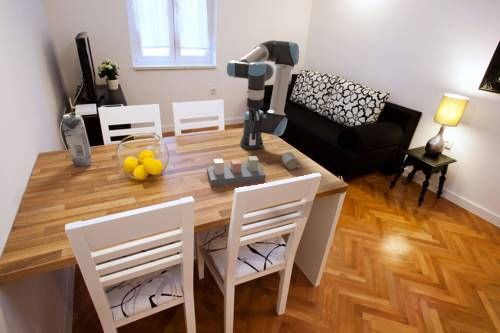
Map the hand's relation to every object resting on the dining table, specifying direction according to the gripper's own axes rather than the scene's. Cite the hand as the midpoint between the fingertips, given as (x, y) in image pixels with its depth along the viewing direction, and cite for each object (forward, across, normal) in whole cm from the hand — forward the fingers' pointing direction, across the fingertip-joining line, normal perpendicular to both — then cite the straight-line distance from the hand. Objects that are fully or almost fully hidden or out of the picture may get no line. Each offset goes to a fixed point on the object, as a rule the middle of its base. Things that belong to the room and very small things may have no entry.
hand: (252, 144), depth 139 cm
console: (+18, 0, -8) cm, 20 cm away
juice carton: (+18, -27, -86) cm, 92 cm away
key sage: (+15, 0, +1) cm, 15 cm away
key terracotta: (+16, 0, -8) cm, 18 cm away
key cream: (+15, +1, -17) cm, 22 cm away
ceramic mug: (+19, -6, +26) cm, 33 cm away
